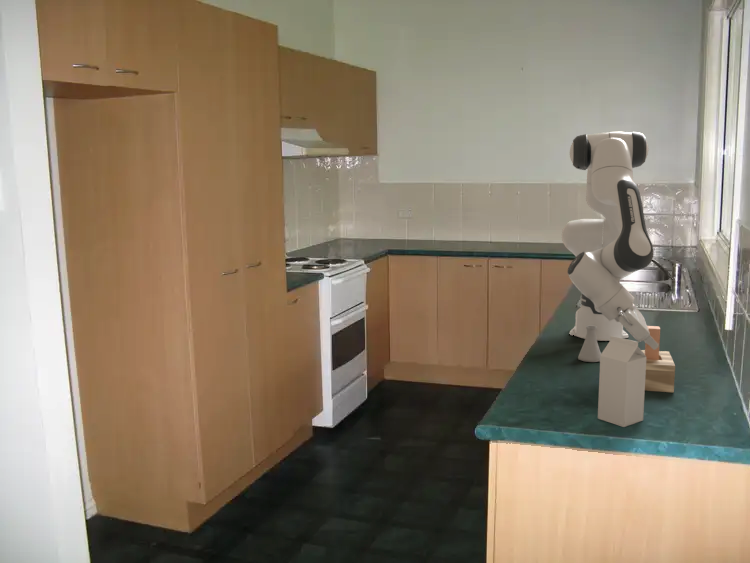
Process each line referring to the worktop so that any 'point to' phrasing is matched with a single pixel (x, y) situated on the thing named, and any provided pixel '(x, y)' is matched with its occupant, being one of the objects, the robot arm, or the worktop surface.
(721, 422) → the worktop surface
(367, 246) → the worktop surface
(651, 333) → the long pin
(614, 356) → the milk carton
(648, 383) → the tan block with hole
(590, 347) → the flask
